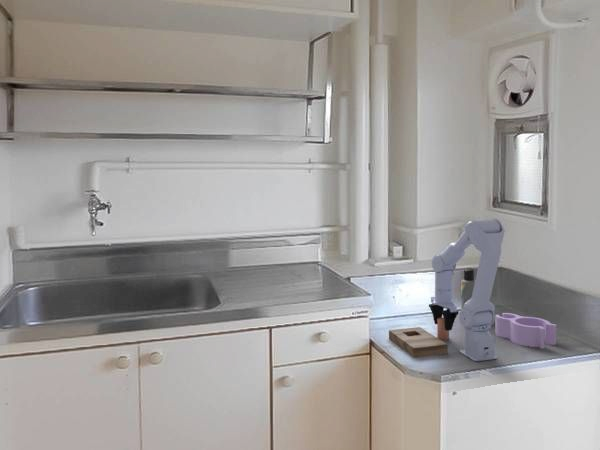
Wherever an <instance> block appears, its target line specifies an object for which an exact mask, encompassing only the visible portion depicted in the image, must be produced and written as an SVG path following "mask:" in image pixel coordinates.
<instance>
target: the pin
mask: <svg viewBox="0 0 600 450" xmlns="http://www.w3.org/2000/svg"><path fill="white" fill-rule="evenodd" d="M436 325H437V326H436V327H437V332H436V333H437V334H436V335H437V336H436V337H437V338H438V339H440V340H442V341H449V340H450V330H448V331H446V330H445V324H444V317H442V318H438V319H437V324H436Z"/></svg>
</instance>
